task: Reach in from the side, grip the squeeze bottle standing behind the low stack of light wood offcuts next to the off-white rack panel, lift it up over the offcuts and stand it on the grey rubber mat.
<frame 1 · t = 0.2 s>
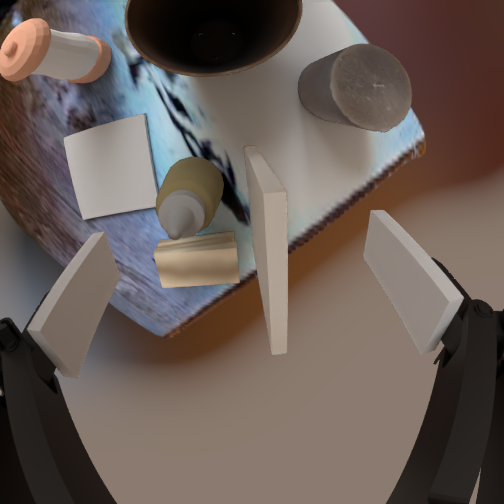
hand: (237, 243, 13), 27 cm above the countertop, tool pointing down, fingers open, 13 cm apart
pillar candle: (328, 90, 33), on the countertop
plant pot: (218, 42, 28), on the countertop
squeeze bottle: (196, 178, 38), on the countertop
offcut stack: (199, 251, 44), on the countertop
pepper shaker: (91, 61, 26), on the countertop
grey mat: (110, 168, 35), on the countertop
rack panel: (253, 198, 40), on the countertop
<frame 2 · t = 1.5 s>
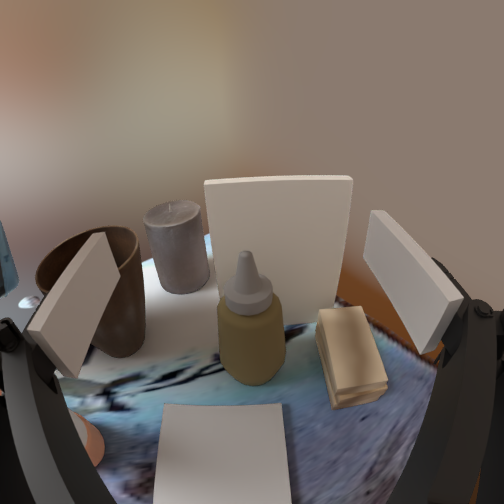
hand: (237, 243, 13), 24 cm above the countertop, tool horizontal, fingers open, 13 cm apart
pillar candle: (185, 278, 50), on the countertop
plant pot: (124, 339, 37), on the countertop
squeeze bottle: (253, 368, 33), on the countertop
offcut stack: (344, 367, 32), on the countertop
pepper shaker: (82, 445, 22), on the countertop
grey mat: (221, 461, 22), on the countertop
rack panel: (278, 321, 40), on the countertop
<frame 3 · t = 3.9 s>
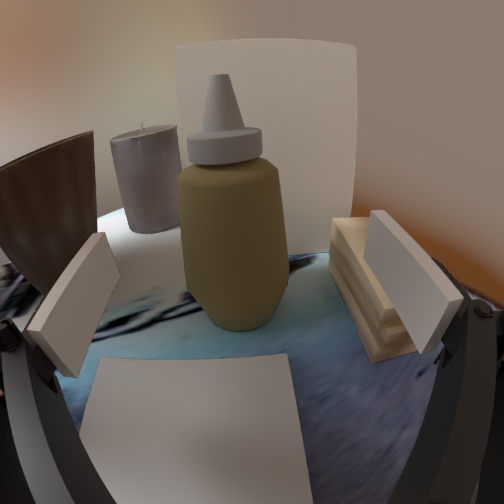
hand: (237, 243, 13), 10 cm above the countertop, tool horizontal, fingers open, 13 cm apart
pillar candle: (159, 220, 40), on the countertop
plant pot: (73, 284, 27), on the countertop
squeeze bottle: (241, 308, 23), on the countertop
offcut stack: (376, 303, 22), on the countertop
grey mat: (182, 456, 12), on the countertop
rack panel: (275, 252, 30), on the countertop
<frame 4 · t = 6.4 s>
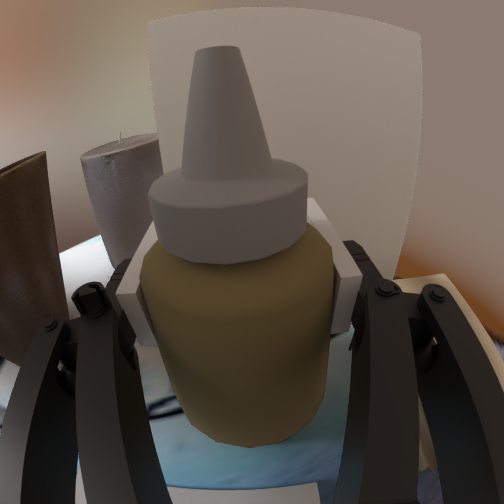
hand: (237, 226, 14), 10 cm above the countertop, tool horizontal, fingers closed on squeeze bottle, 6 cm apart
pillar candle: (147, 253, 32), on the countertop
plant pot: (45, 342, 19), on the countertop
squeeze bottle: (253, 406, 15), on the countertop, touching gripper
offcut stack: (424, 388, 14), on the countertop
rack panel: (295, 313, 22), on the countertop
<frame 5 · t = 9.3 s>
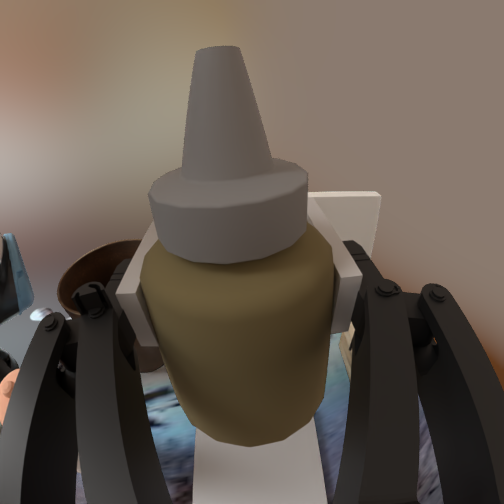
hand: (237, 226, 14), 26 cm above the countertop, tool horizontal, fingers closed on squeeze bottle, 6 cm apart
plant pot: (148, 353, 38), on the countertop
squeeze bottle: (253, 406, 15), point 16 cm above the countertop, touching gripper
offcut stack: (368, 374, 32), on the countertop
pepper shaker: (112, 463, 22), on the countertop
grey mat: (257, 470, 23), on the countertop
rack panel: (302, 331, 40), on the countertop
when the fingers open (12 cm above the countertop, at t = 12.4 s): squeeze bottle drops 1 cm, resting on grey mat.
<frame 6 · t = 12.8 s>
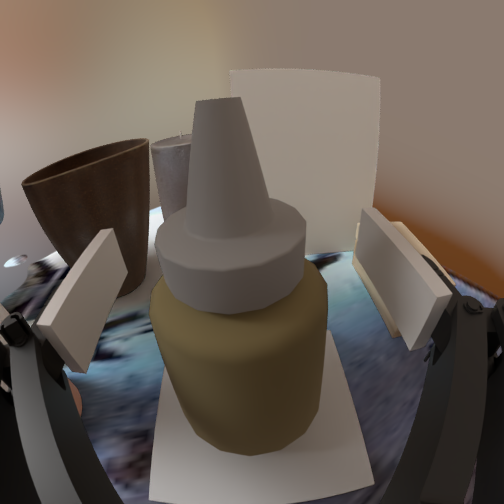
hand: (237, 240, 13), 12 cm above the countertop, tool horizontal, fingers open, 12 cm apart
pillar candle: (193, 221, 44), on the countertop
plant pot: (120, 280, 32), on the countertop
squeeze bottle: (253, 415, 16), point 1 cm above the countertop, touching grey mat
offcut stack: (393, 292, 27), on the countertop
pepper shaker: (53, 409, 16), on the countertop
grey mat: (255, 418, 17), on the countertop
rack panel: (306, 251, 34), on the countertop
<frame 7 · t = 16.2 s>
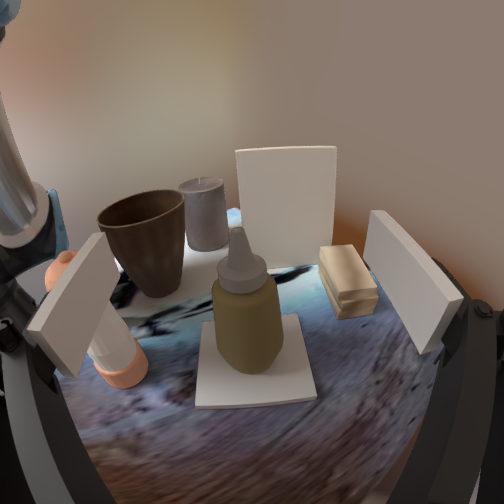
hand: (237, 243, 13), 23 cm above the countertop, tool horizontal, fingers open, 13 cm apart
pillar candle: (209, 241, 62), on the countertop
plant pot: (161, 285, 49), on the countertop
squeeze bottle: (251, 357, 33), point 1 cm above the countertop, touching grey mat
offcut stack: (343, 292, 44), on the countertop
pepper shaker: (126, 368, 33), on the countertop
grey mat: (252, 360, 34), on the countertop
rack panel: (288, 264, 51), on the countertop
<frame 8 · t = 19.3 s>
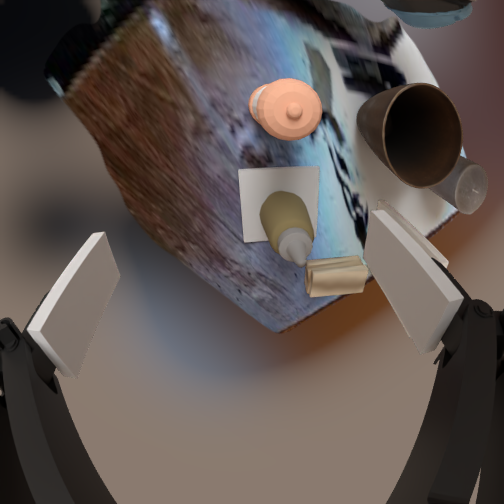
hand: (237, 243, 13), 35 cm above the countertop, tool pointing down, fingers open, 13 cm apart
pillar candle: (430, 165, 45), on the countertop
plant pot: (374, 120, 41), on the countertop
squeeze bottle: (280, 205, 48), point 1 cm above the countertop, touching grey mat
offcut stack: (331, 269, 58), on the countertop
pepper shaker: (270, 104, 39), on the countertop
grey mat: (279, 203, 49), on the countertop
rack panel: (375, 234, 54), on the countertop
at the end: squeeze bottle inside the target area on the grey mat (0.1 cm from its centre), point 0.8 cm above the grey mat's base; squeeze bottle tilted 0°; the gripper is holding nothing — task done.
